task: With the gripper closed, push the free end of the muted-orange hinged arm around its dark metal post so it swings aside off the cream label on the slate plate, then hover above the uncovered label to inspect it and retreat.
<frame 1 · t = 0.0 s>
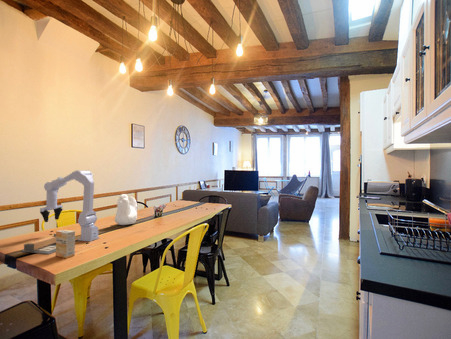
hand: (51, 220, 160), 10 cm above the table, tool pointing down, fingers open, 7 cm apart
supplement box: (65, 256, 125), on the table
arm mount: (56, 244, 143), on the table
cable arm: (43, 242, 135), point 3 cm above the table, hinge at 0.0°
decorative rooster: (129, 223, 197), on the table
label plate: (45, 249, 134), on the table
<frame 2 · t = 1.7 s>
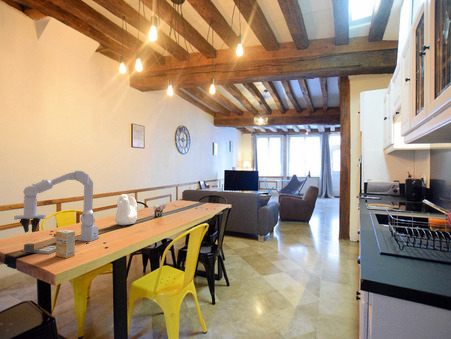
hand: (30, 231, 135), 9 cm above the table, tool pointing down, fingers open, 3 cm apart
nothing on the table moved.
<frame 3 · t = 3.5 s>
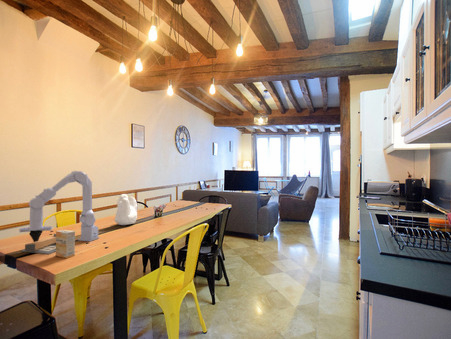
hand: (36, 244, 134), 3 cm above the table, tool pointing down, fingers closed
cable arm: (44, 242, 135), point 3 cm above the table, hinge at 2.6°, touching gripper
everything else where it was.
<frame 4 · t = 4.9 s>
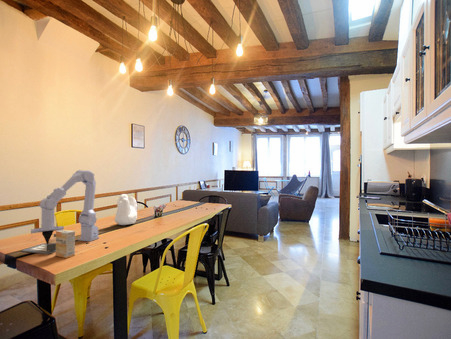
hand: (47, 244, 133), 3 cm above the table, tool pointing down, fingers closed
cable arm: (54, 242, 136), point 3 cm above the table, hinge at 40.3°, touching gripper
everything else where it was.
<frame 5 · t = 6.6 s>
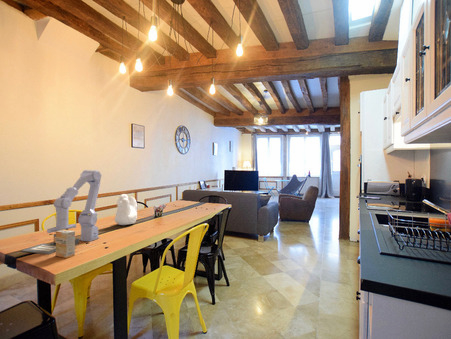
hand: (62, 242, 137), 3 cm above the table, tool pointing down, fingers closed
cable arm: (64, 240, 140), point 3 cm above the table, hinge at 79.3°, touching gripper
everything else where it was.
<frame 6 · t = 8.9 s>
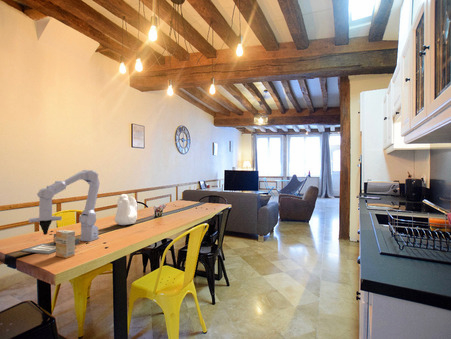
hand: (45, 234, 134), 8 cm above the table, tool pointing down, fingers closed
cable arm: (65, 240, 140), point 3 cm above the table, hinge at 80.1°
everything else where it was.
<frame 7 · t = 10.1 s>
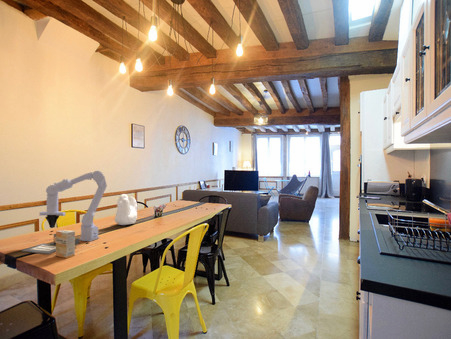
hand: (52, 227, 145), 9 cm above the table, tool pointing down, fingers closed
nothing on the table moved.
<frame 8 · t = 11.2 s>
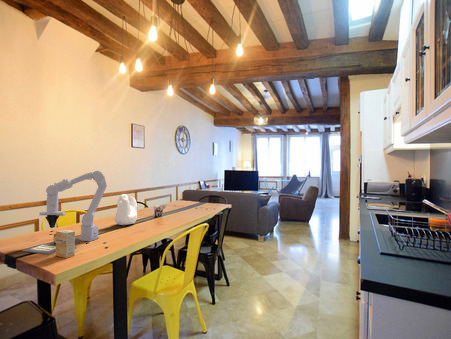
hand: (52, 227, 145), 9 cm above the table, tool pointing down, fingers closed
nothing on the table moved.
at the end: cable arm at +80° (first picture: +0°) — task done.
